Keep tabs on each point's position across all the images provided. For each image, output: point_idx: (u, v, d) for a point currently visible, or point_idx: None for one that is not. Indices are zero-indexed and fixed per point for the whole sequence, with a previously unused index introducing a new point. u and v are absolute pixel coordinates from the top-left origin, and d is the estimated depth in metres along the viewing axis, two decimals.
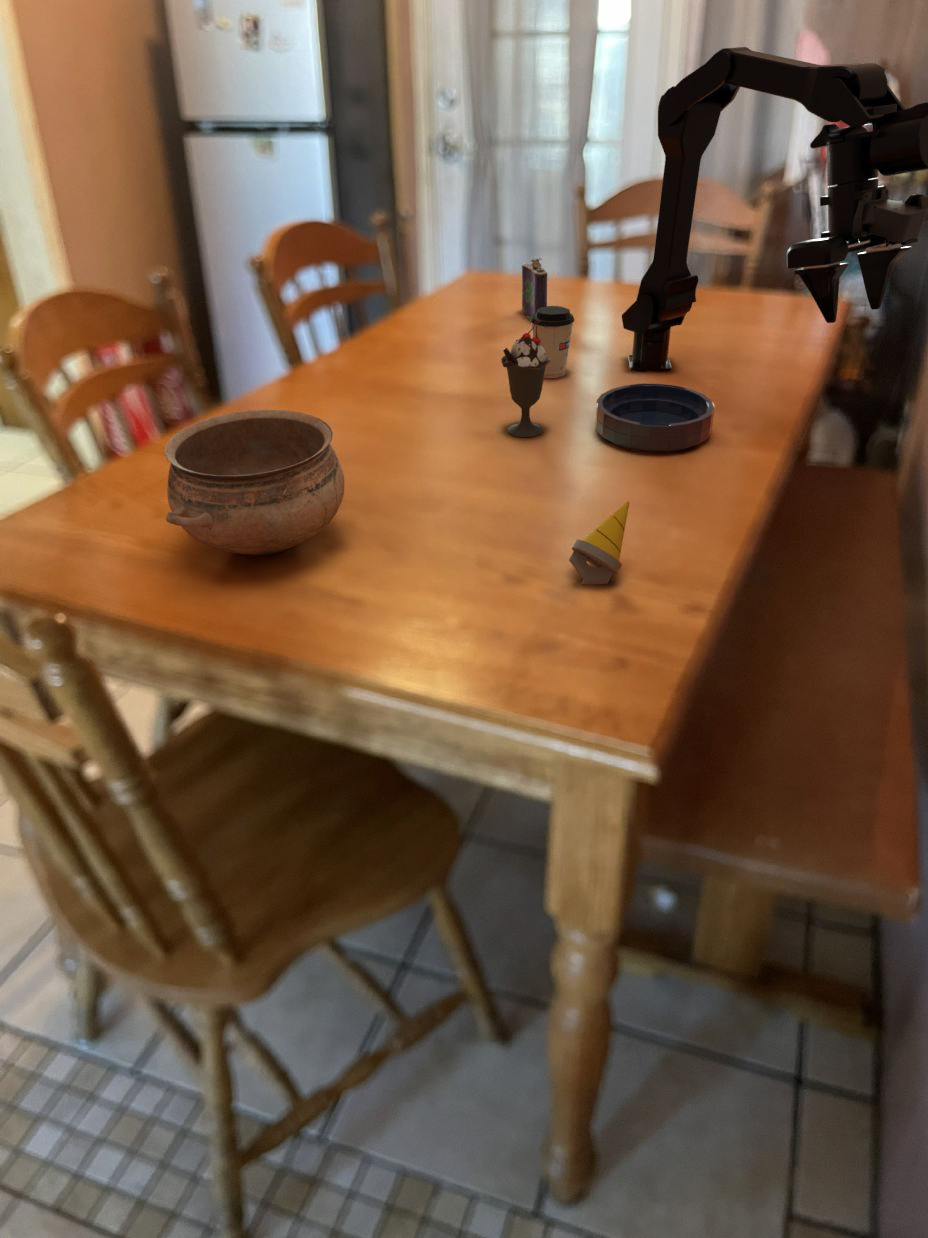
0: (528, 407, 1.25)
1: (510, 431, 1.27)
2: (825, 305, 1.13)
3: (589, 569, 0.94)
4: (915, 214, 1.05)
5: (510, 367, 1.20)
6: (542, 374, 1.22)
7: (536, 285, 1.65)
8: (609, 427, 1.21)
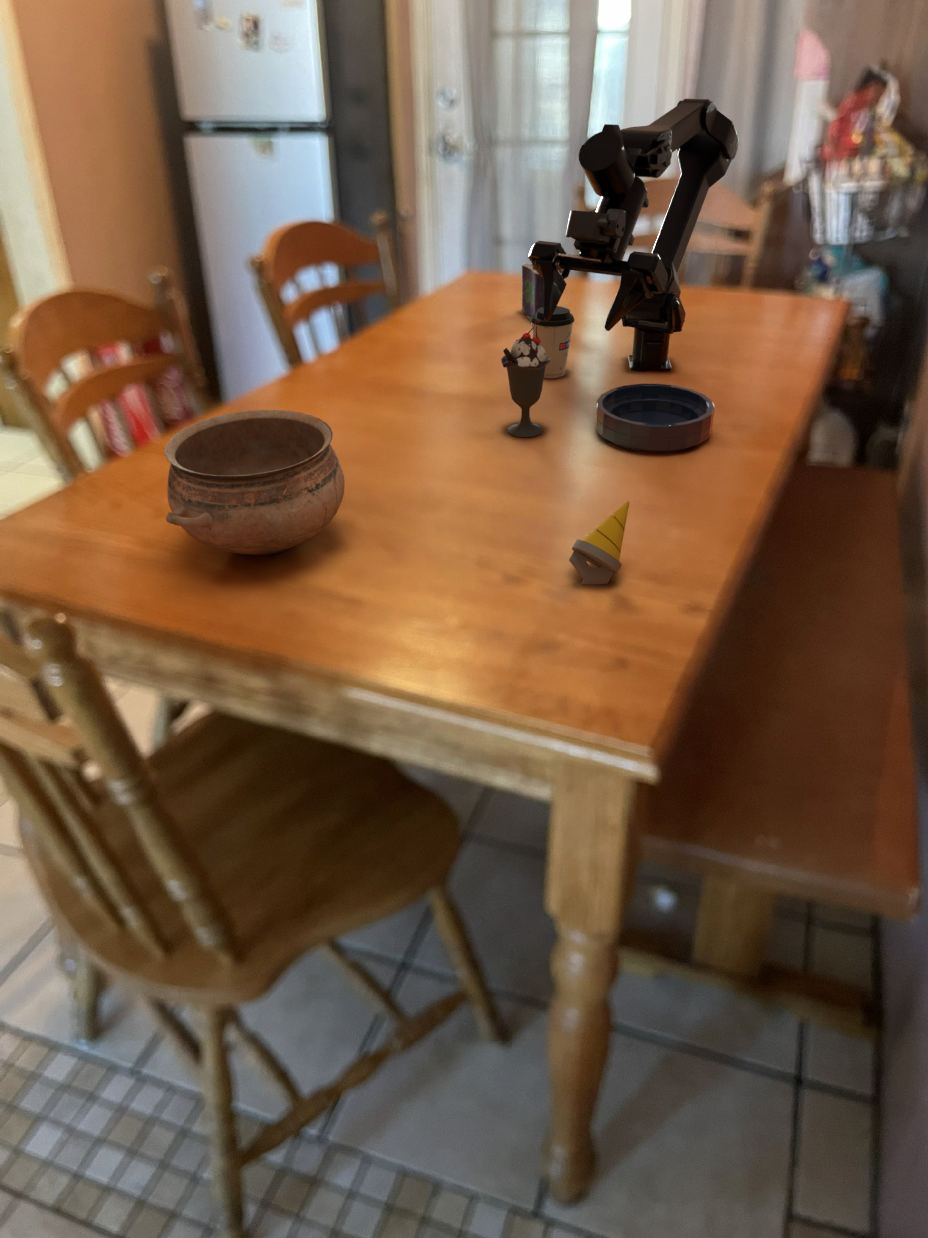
0: (528, 407, 1.25)
1: (510, 431, 1.27)
2: None
3: (589, 569, 0.94)
4: (580, 211, 1.16)
5: (510, 367, 1.20)
6: (542, 374, 1.22)
7: (536, 285, 1.65)
8: (609, 427, 1.21)
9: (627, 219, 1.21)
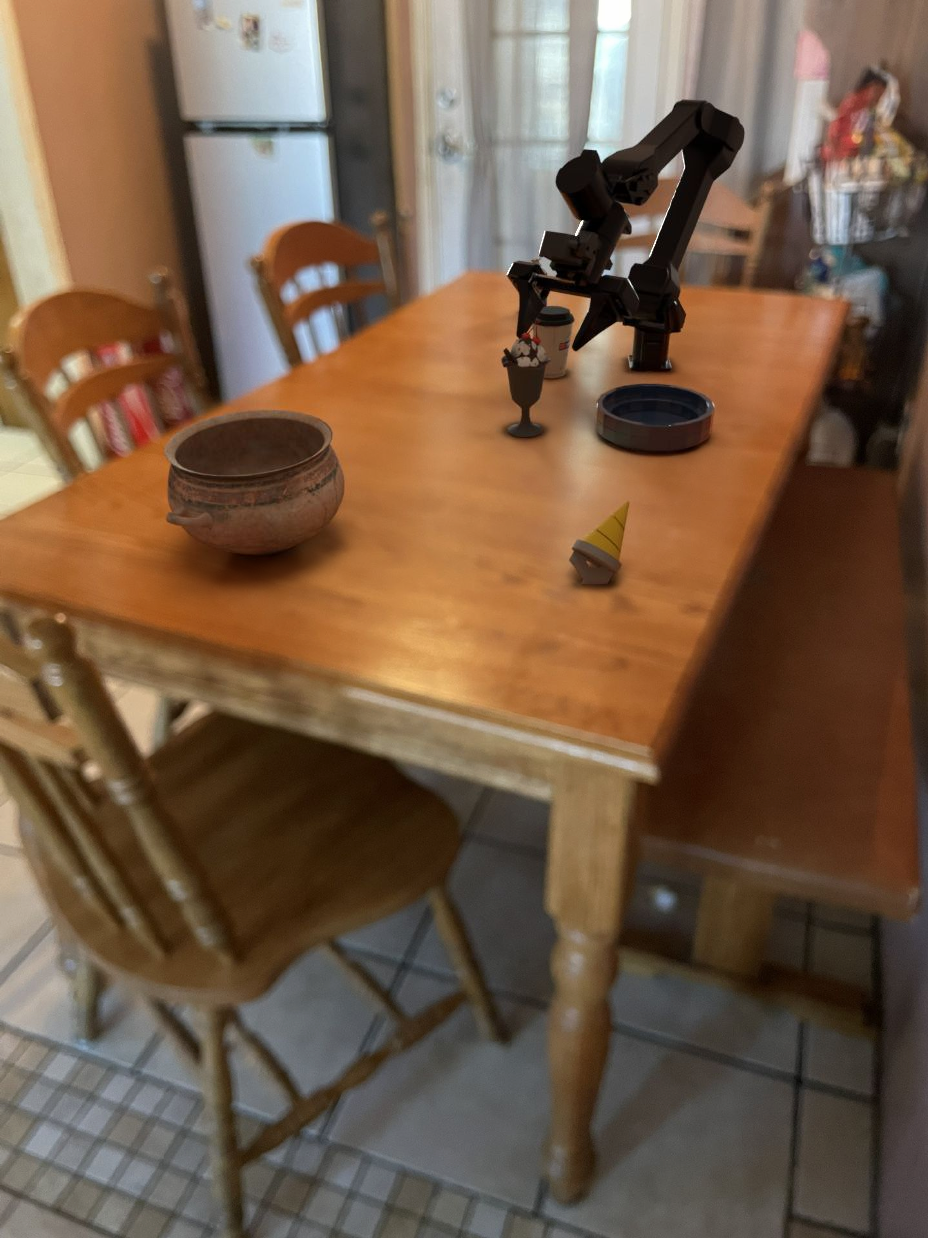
0: (528, 407, 1.25)
1: (510, 431, 1.27)
2: None
3: (589, 569, 0.94)
4: (552, 232, 1.18)
5: (510, 367, 1.20)
6: (542, 374, 1.22)
7: None
8: (609, 427, 1.21)
9: (604, 243, 1.23)
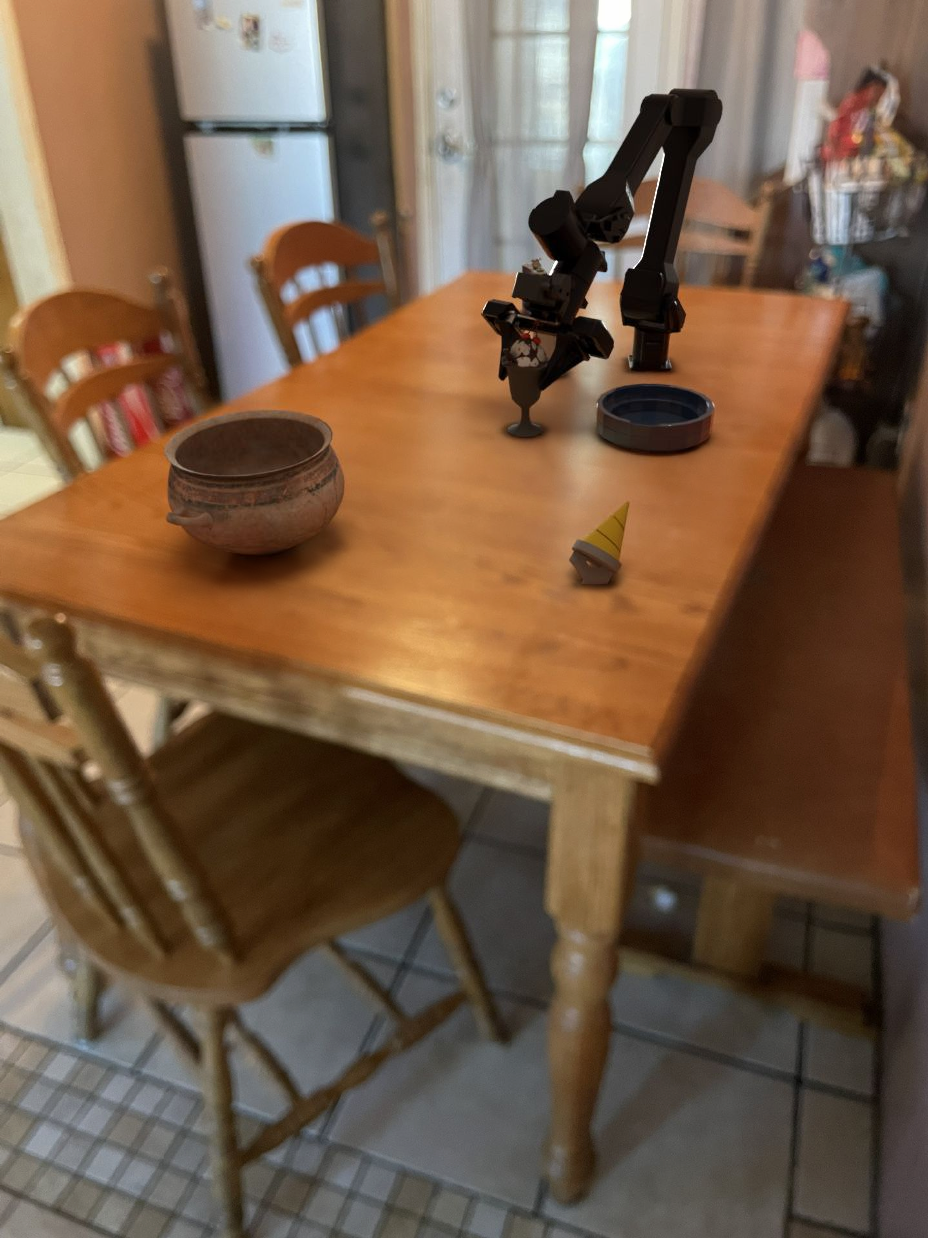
0: (528, 407, 1.25)
1: (510, 431, 1.27)
2: None
3: (589, 569, 0.94)
4: (525, 274, 1.17)
5: (510, 367, 1.20)
6: None
7: None
8: (609, 427, 1.21)
9: (578, 283, 1.21)
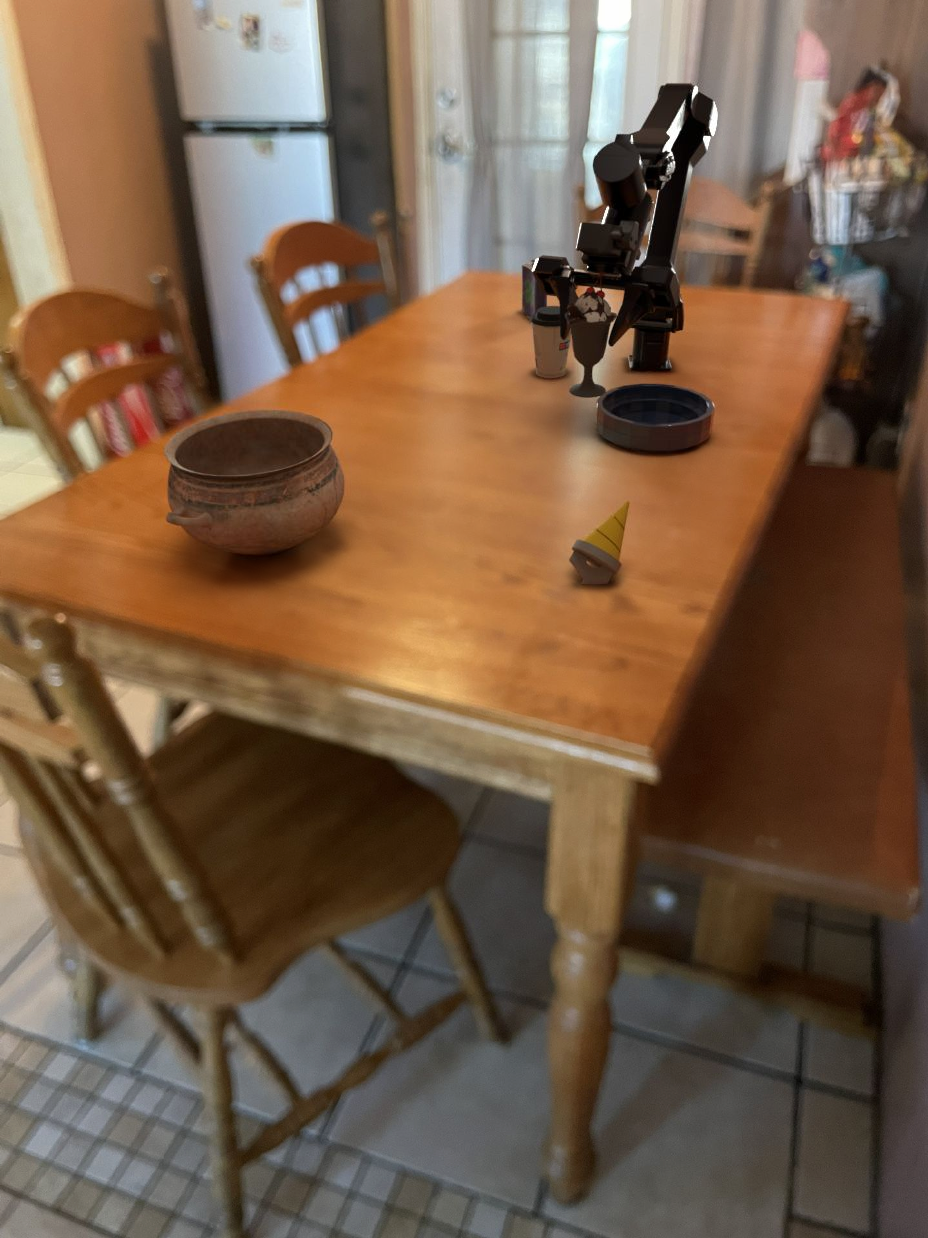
0: (592, 366, 1.20)
1: (573, 392, 1.21)
2: None
3: (589, 569, 0.94)
4: (591, 223, 1.11)
5: (579, 324, 1.15)
6: None
7: (536, 285, 1.65)
8: (609, 427, 1.21)
9: None
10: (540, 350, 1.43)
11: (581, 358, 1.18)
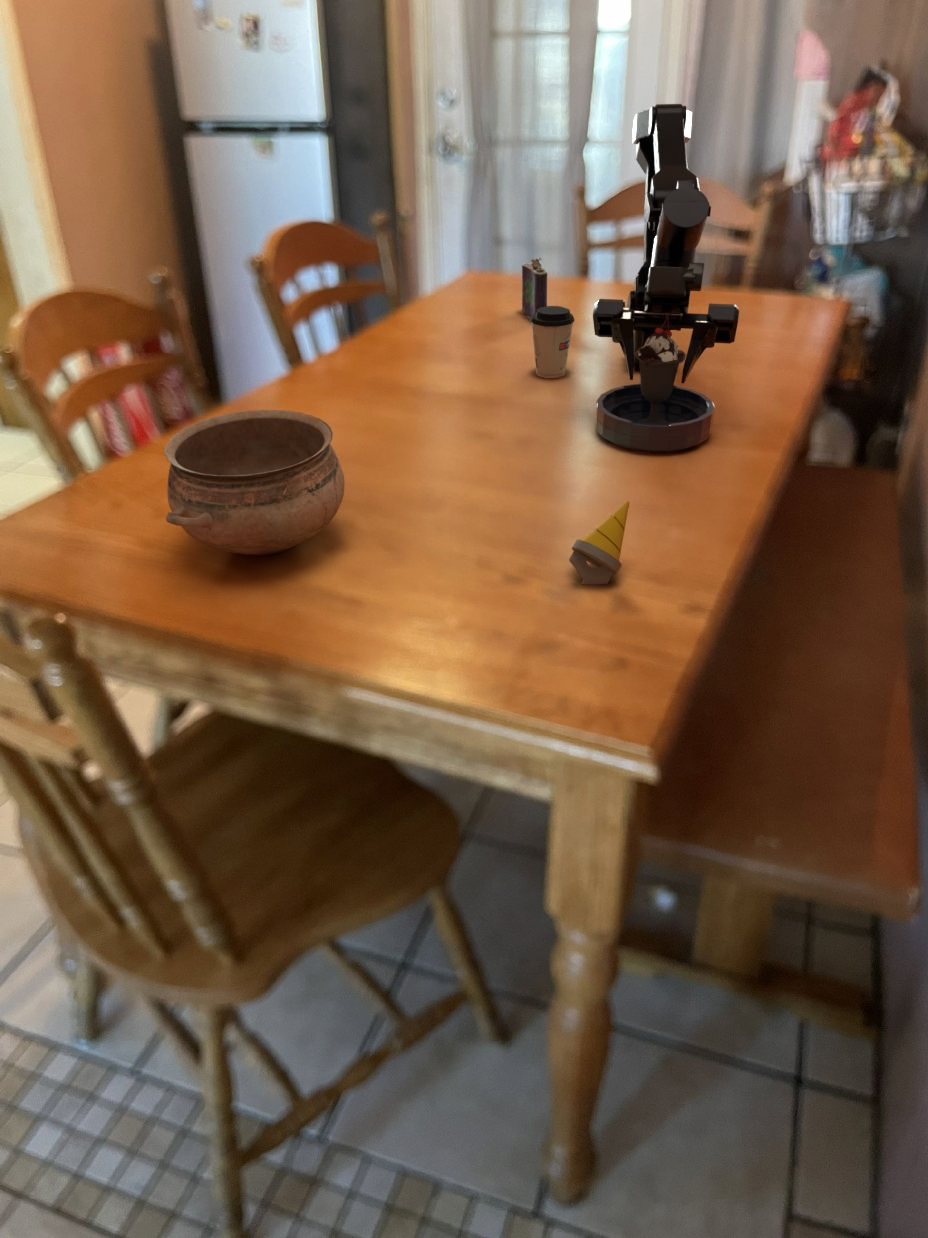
0: (660, 402, 1.23)
1: None
2: None
3: (589, 569, 0.94)
4: (663, 267, 1.14)
5: (655, 364, 1.18)
6: None
7: (536, 285, 1.65)
8: (609, 427, 1.21)
9: None
10: (540, 350, 1.43)
11: (653, 396, 1.21)
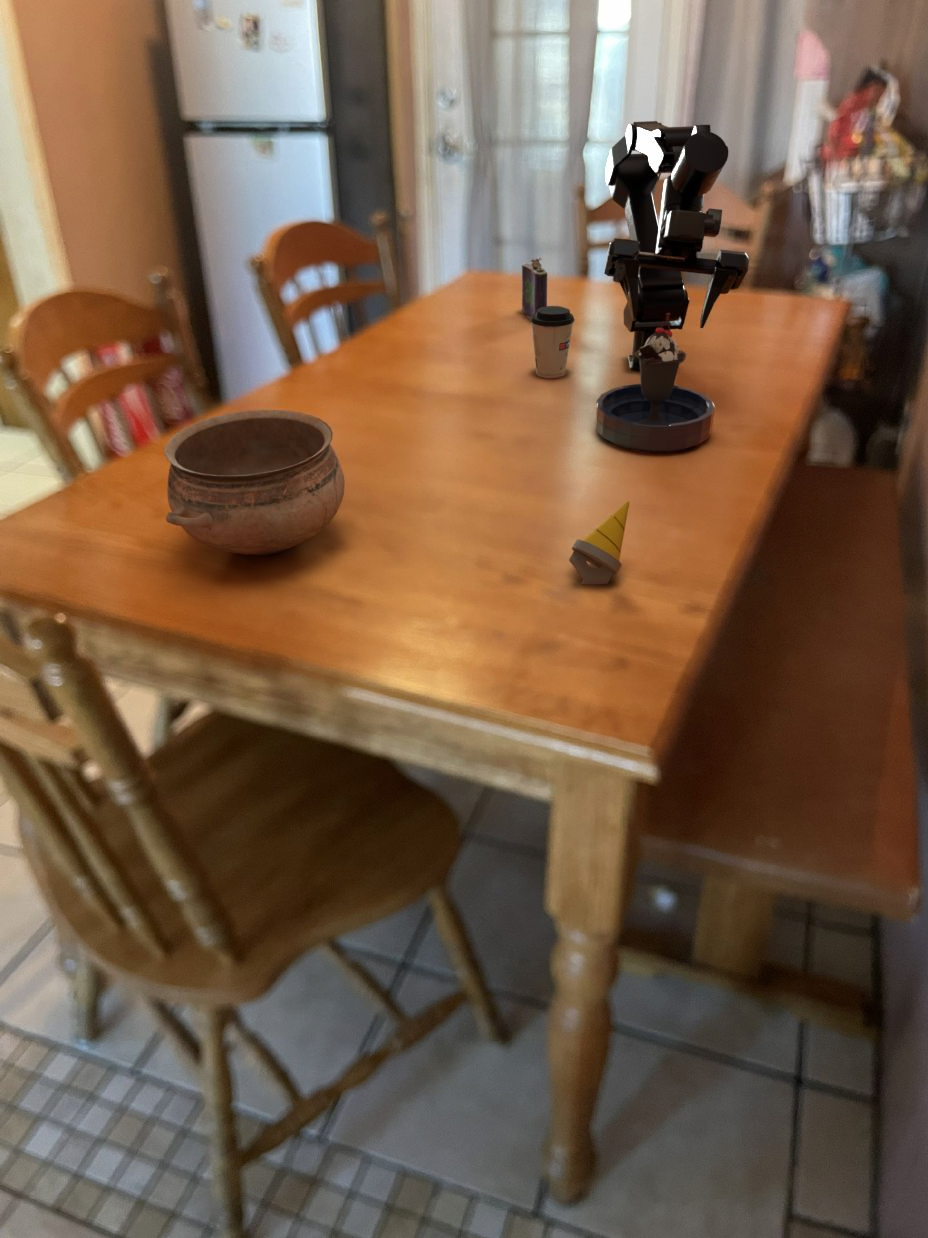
0: (660, 403, 1.23)
1: None
2: (630, 303, 1.25)
3: (589, 569, 0.94)
4: (685, 211, 1.17)
5: (655, 363, 1.18)
6: None
7: (536, 285, 1.65)
8: (609, 427, 1.21)
9: None
10: (540, 350, 1.43)
11: (653, 396, 1.21)
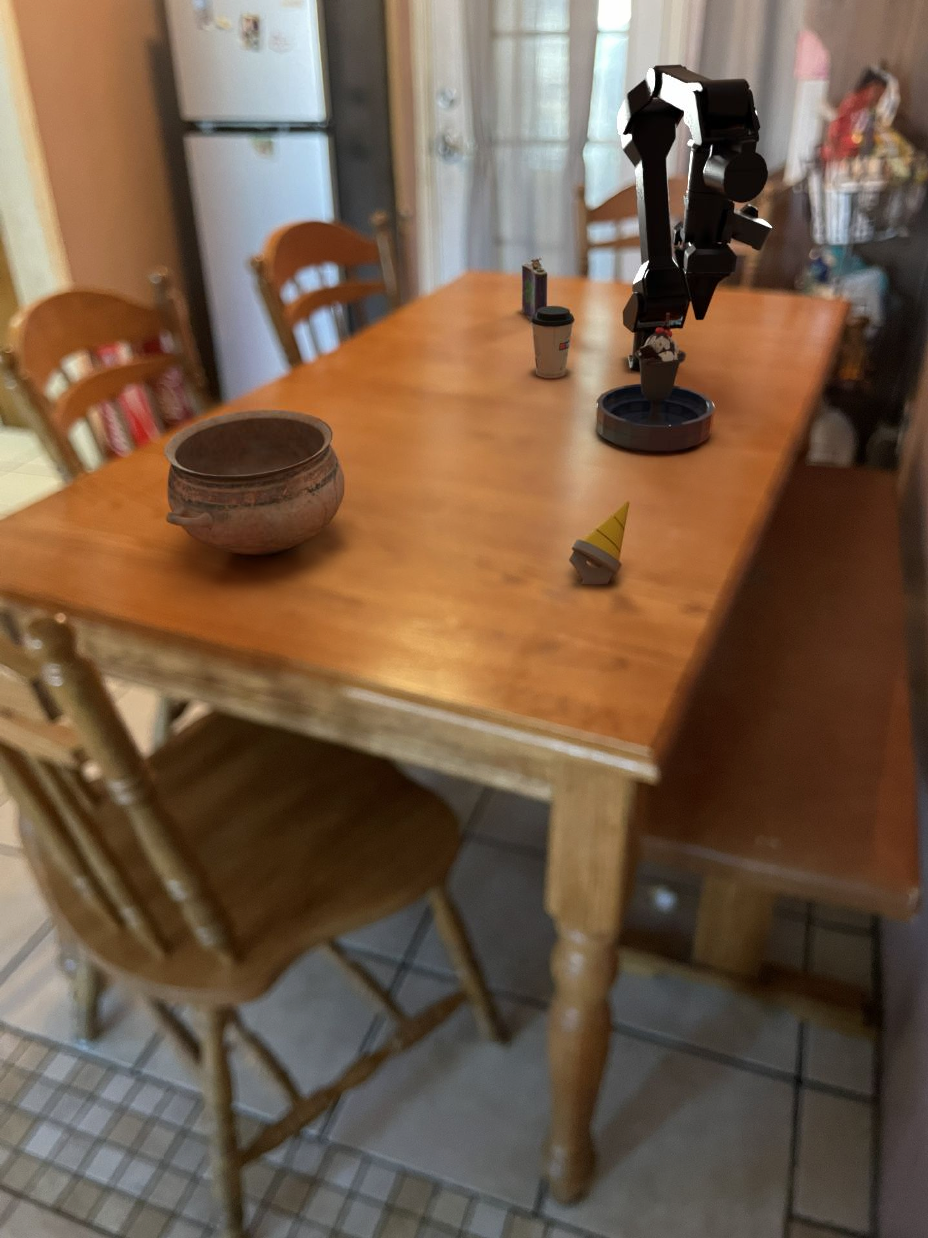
0: (660, 403, 1.23)
1: None
2: (701, 304, 1.23)
3: (589, 569, 0.94)
4: (770, 226, 1.21)
5: (655, 363, 1.18)
6: None
7: (536, 285, 1.65)
8: (609, 427, 1.21)
9: None
10: (540, 350, 1.43)
11: (653, 396, 1.21)
